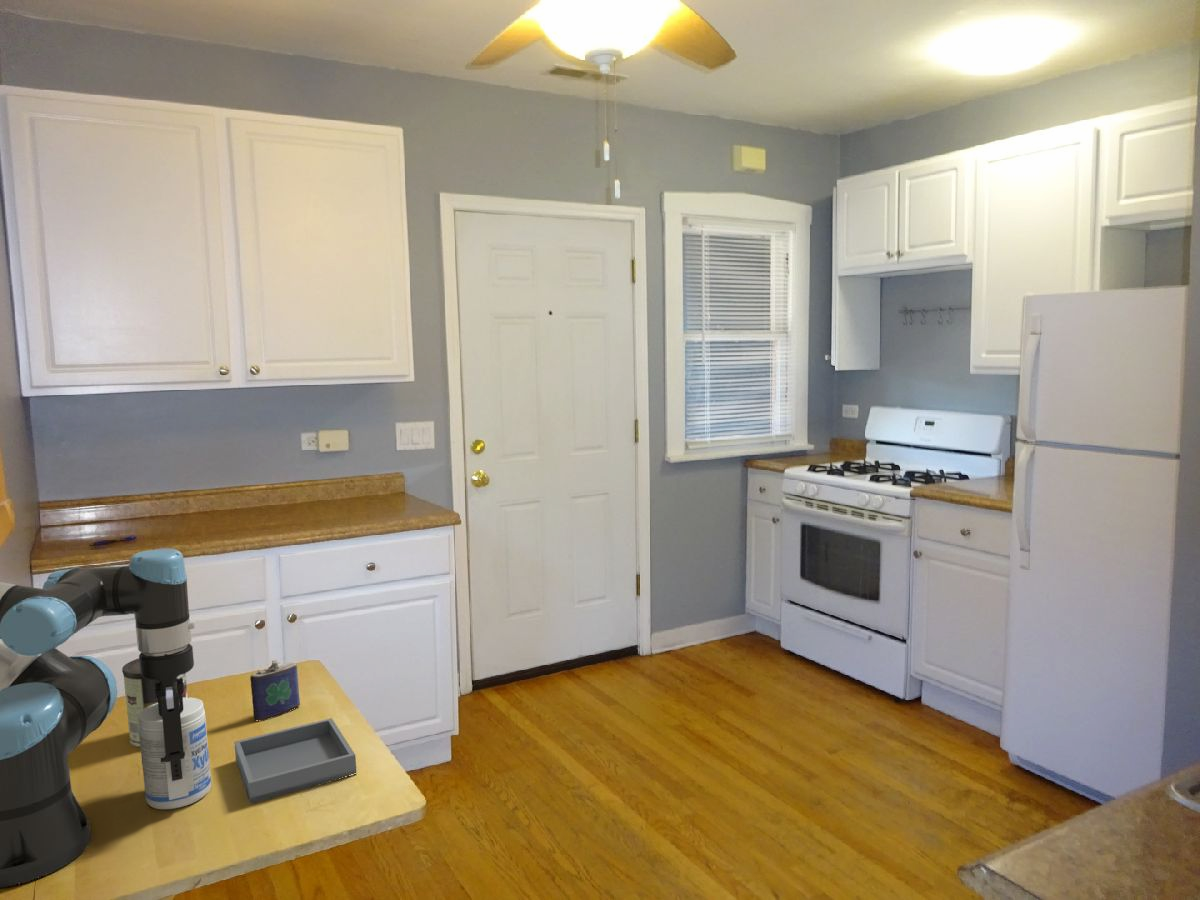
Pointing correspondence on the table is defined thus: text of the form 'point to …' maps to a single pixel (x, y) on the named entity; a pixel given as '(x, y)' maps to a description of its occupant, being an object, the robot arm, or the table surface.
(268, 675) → the flask
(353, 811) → the table surface
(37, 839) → the robot arm
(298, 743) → the tray
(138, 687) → the coffee can
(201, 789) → the supplement tub
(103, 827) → the table surface
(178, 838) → the table surface
